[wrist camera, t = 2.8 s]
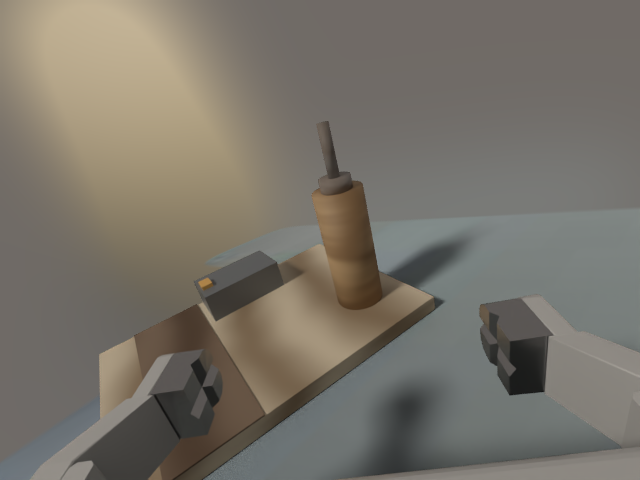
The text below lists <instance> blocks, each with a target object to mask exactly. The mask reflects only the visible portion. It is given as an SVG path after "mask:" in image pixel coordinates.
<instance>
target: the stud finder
mask: <svg viewBox="0 0 640 480" xmlns="http://www.w3.org/2000/svg"><path fill="white" fill-rule="evenodd" d="M194 283H195V286H196V288H197V290H198V292H199V294H200V296H201V299H202V301H203V303H204V305H205V306H206V308H207V309H208V311H209V312H210V314H211V315H212V317H213V318H214V320H215V321H218V320H220V319H222V318H223V317H225V316H227V315H229V314H231V313H233V312H235V311H236V310H238V309H240V308H242V307H244V306H246V305H248V304H250V303H251V302H253V301H255V300H257V299H259V298H261V297H263V296H264V295H266V294H268V293H270V292H272V291H274V290H276V289H277V288H279V287H281V286H283V285H284V283H283V279H282V276H281V273H280V270H279V267H278V264H277V262H276V261H275V260H273V259H272V258H270V257H269V256H267V255H266V254H264V253H263V252H261V251H257V252H255V253H253V254H251V255H249V256H247V257H245V258H243V259H240V260H238V261H236V262H234V263H232V264H230V265H228V266H226V267H223V268H221V269H219V270H217V271H215V272H213V273H211V274H209V275H206V276H204V277H202V278H200V279H198V280H196V281H194Z"/></svg>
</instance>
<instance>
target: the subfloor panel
mask: <svg viewBox="0 0 640 480" xmlns="http://www.w3.org/2000/svg"><path fill="white" fill-rule="evenodd" d="M278 267H279V270H280V273H281V276H282V279H283V283H284V285H283V286H281V287H279V288H277V289H276V290H274V291H272V292H270V293H268V294H266V295H264V296H263V297H261V298H259V299H257V300H255V301H253V302H251V303H250V304H248V305H246V306H244V307H242V308H240V309H238V310H236V311H235V312H233V313H231V314H229V315H227V316H225V317H223V318H222V319H220V320H218V321H215V320H214V318H213V317H212V315H211V314H210V312H209V311H208V309H207V308H206V306H205V305H204V303H201V304H199V305H194V306H192V307H190V308H188V309H186V310H184V311H183V312H180V313H178V314H176V315H174V316H172V317H170V318H169V319H166V320H164V321H162V322H160V323H158V324H156V325H154V326H152V327H150V328H148V329H146V330H144V331H142V332H141V333H138V334H136V335H134V337H133V338H131V339H129V340H127V341H125V342H123V343H121V344H119V345H117V346H115V347H113V348H111V349H109V350H107V351H105V352H103V353H101V354H100V355H99V360H100V419H101V418H103V417H104V416H105V415H106V414H108V413H109V412H110V411H112V410H113V409H114V408H115V407H117V406H118V405H119V404H121V403H122V402H123V401H124V400H126V399H129V398H132V396H133V395H134V393H135V392H136V390H137V389H138V387H139V385H140V384H141V382H142V381H143V379H144V378H145V376H146V375H147V373H148V371H149V370H150V368H151V367H152V365H153V364H154V362H155V360H156V359H157V358H158V357H159V356H161V355H166V354H173V353H179V352H186V351H193V350H200V349H207V350H210V352H211V354H212V356H213V358H214V359H213V362H212V365H213V366H215V367H217V368H218V369H219V371H220V373H221V375H222V380H223V390H222V395H221V398H220V401H219V402H218V403H217V404H216V405H215V406H214V407H213V410H214V413H215V416H214V418H213V421H212V424H211V427H210V430H209V433H208V435H203V436H197V437H191V438H185V439H180V442H179V443H178V444H177V445H176V447H175V448H174V449H173V450H172V451H171V452H170V454H169V455H168V456H167V457H166V458H165V460H164V461H163V462H162V463H161V464H160V466H159V467H158V468H157V469H156V470H155V472H154V473H153V474H152V475H151V476H150V477H149V479H148V480H202V479H203V478H204V477H206V476H207V475H209V474H210V473H211V472H213V471H214V470H215V469H217V468H218V467H219V466H221V465H222V464H224V463H225V462H226V461H228V460H229V459H230V458H232V457H233V456H235V455H236V454H237V453H239V452H240V451H241V450H243V449H244V448H245V447H247V446H248V445H250V444H251V443H252V442H254V441H255V440H256V439H258V438H259V437H261V436H262V435H263V434H265V433H266V432H267V431H269V430H270V429H271V428H273V427H274V426H276V425H277V424H278V423H280V422H281V421H282V420H284V419H285V418H286V417H288V416H289V415H291V414H292V413H293V412H295V411H296V410H297V409H299V408H300V407H302V406H303V405H304V404H306V403H307V402H308V401H310V400H311V399H312V398H314V397H315V396H317V395H318V394H319V393H321V392H322V391H323V390H325V389H326V388H328V387H329V386H330V385H332V384H333V383H334V382H336V381H337V380H338V379H340V378H341V377H343V376H344V375H345V374H347V373H348V372H349V371H351V370H352V369H354V368H355V367H356V366H358V365H359V364H360V363H362V362H363V361H364V360H366V359H367V358H369V357H370V356H371V355H373V354H374V353H375V352H377V351H378V350H380V349H381V348H382V347H384V346H385V345H386V344H388V343H389V342H390V341H392V340H393V339H395V338H396V337H397V336H399V335H400V334H401V333H403V332H404V331H405V330H407V329H408V328H410V327H411V326H412V325H414V324H415V323H416V322H418V321H419V320H421V319H422V318H423V317H425V316H426V315H427V314H429V313H430V312H431V311H433V310H434V309H435V304H434V297H433V296H431V295H429V294H427V293H425V292H422V291H420V290H418V289H416V288H414V287H412V286H409V285H407V284H405V283H403V282H401V281H399V280H396V279H394V278H392V277H390V276H388V275H386V274H383V273H381V272H379V276H380V282H381V287H382V298H381V299H380V301H379V302H378V303H376V304H375V305H373V306H371V307H369V308H366V309H361V310H350V309H346V308H344V307H342V306H341V305H340V304H339V302H338V299H337V295H336V291H335V287H334V283H333V279H332V275H331V271H330V267H329V263H328V259H327V255H326V251H325V247H324V246H323V245H321V244H318V245H316V246H314V247H312V248H310V249H308V250H306V251H304V252H302V253H300V254H298V255H296V256H294V257H292V258H290V259H288V260H286V261H284V262H282V263H280V264H278Z"/></svg>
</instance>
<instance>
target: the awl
mask: <svg viewBox="0 0 640 480" xmlns="http://www.w3.org/2000/svg"><path fill="white" fill-rule="evenodd" d="M316 125H317V129H318V134H319V138H320V143H321V147H322V152H323V156H324V160H325V165H326V169H327V173H328V175H326V176H323V177H321V178H320V179H319V180H318V183H319V187H320V188H319V189H317V190H315V191H314V192H313V193H312V199H313V203H314V207H315V211H316V215H317V219H318V223H319V227H320V231H321V235H322V239H323V243H324V247H325V251H326V255H327V259H328V263H329V267H330V271H331V275H332V279H333V283H334V287H335V291H336V295H337V299H338V302H339V304H340V305H341V306H342V307H344V308H346V309H350V310H361V309H366V308H369V307H371V306H373V305H375V304H376V303H378V302H379V301H380V299H381V298H382V287H381V282H380V276H379V271H378V265H377V260H376V254H375V249H374V243H373V238H372V233H371V227H370V222H369V216H368V211H367V205H366V200H365V194H364V189H363V184H362V183H361V182H359V181H352V179H351V174H350V172H339V170H338V165H337V160H336V156H335V151H334V146H333V141H332V137H331V131H330V127H329V122H328V121H325V122H321V123H318V124H316Z"/></svg>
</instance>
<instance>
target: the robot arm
mask: <svg viewBox="0 0 640 480" xmlns="http://www.w3.org/2000/svg"><path fill="white" fill-rule="evenodd" d="M480 318H481V319H482V321H483V322H484V324H483V326H482V327H481V328H480V334H481V341H482V345H483V349H484V351H485V353H486V356H487V357H488V359H489V361H490V363H492V364H494V365H496V366H497V373H498V377H499V378H500V380H501V382H502V384H503V385H504V387H505V389H506V390H507V392H508V394H509V395H519V394H529V393H539V392H545V394H546V395H547V396H549V397H550V398H552V399H553V400H555V401H556V402H558V403H559V404H561V405H562V406H563V407H565V408H566V409H568V410H569V411H571V412H572V413H574V414H575V415H577V416H578V417H579V418H581V419H582V420H584V421H585V422H587V423H588V424H590V425H591V426H593V427H594V428H595V429H597V430H598V431H600V432H601V433H603V434H604V435H606V436H607V437H609V438H610V439H611V440H613V441H614V442H616V443H617V444H619V445H620V446H621V449H613V450H604V451H595V452H585V453H576V454H567V455H558V456H548V457H539V458H530V459H520V460H511V461H502V462H493V463H484V464H475V465H465V466H456V467H447V468H438V469H429V470H420V471H410V472H401V473H392V474H383V475H374V476H365V477H355V478H346V479H337V480H640V353H639V352H636V351H634V350H631V349H629V348H626V347H623V346H621V345H618V344H616V343H613V342H611V341H608V340H605V339H603V338H600V337H598V336H595V335H592V334H590V333H587V332H585V331H583V332H577V331H576V330H575V329H574V328H573V327H572V326H571V325H570V324H569V323H568V322H567V321H566V320H565V319H564V318H563V317H562V316H561V315H560V314H559V313H558V312H557V311H556V310H555V309H554V308H553V307H552V306H551V305H550V304H549V303H548V302H547V301H546V300H545V299H544V298H543V297H542V296H540V295H538V294H535V295H530V296H524V297H519V298H516V299H510V300H504V301H498V302H492V303H486V304H481V305H480ZM213 359H214V358H213V356H212V354H211V352H210V350H207V349H200V350H193V351H186V352H179V353H173V354H166V355H161V356H159V357H158V358H157V359H156V360H155V362H154V364H153V365H152V367H151V368H150V370H149V371H148V373H147V375H146V376H145V378H144V379H143V381H142V382H141V384H140V385H139V387H138V389H137V390H136V392H135V393H134V395H133V396H132V398H129V399H126V400H124V401H123V402H122V403H121V404H119V405H118V406H117V407H115V408H114V409H113V410H112V411H110V412H109V413H108V414H106V415H105V416H104V417H103V418H101V419H100V420H99V421H97V422H96V423H95V424H94V425H92V426H91V427H90V428H88V429H87V430H86V431H85V432H83V433H82V434H81V435H79V436H78V437H77V438H76V439H74V440H73V441H72V442H70V443H69V444H68V445H67V446H65V447H64V448H63V449H61V450H60V451H59V452H58V453H56V454H55V455H54V456H52V457H51V458H50V459H49V460H47V461H46V462H45V463H43V464H42V465H41V466H40V467H39V469H38V470H37V471H36V473H35V474H34V475H33V476H32V478H31V479H30V480H148V479H149V477H150V476H151V475H152V474H153V473H154V472H155V470H156V469H157V468H158V467H159V466H160V464H161V463H162V462H163V461H164V460H165V458H166V457H167V456H168V455H169V454H170V452H171V451H172V450H173V449H174V448H175V447H176V445H177V444H178V443H179V442H180V439H185V438H191V437H197V436H203V435H208V433H209V430H210V427H211V424H212V421H213V418H214V416H215V413H214V410H213V407H214V406H215V405H216V404H217V403H218V402H219V401H220V398H221V395H222V390H223V380H222V375H221V373H220V371H219V369H218V368H217V367H215V366H213V365H212V362H213Z"/></svg>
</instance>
